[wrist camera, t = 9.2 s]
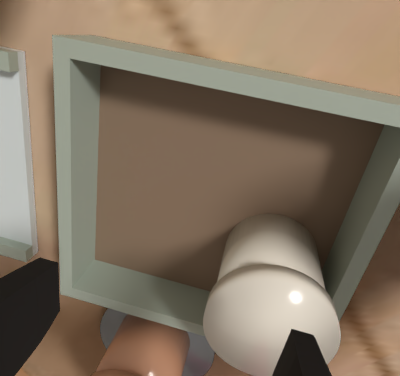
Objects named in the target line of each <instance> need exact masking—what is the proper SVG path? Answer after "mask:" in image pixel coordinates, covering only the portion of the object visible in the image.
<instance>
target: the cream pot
mask: <svg viewBox="0 0 400 376" xmlns="http://www.w3.org/2000/svg"><path fill="white" fill-rule="evenodd" d="M203 329H204V334H205V337H206V339H207V341H208V343H209V345H210V346H211V348H212V349H213V350H214V352H215V353H216V354H217V355H218V356H219V357H220V358H221V359H223V360H224V361H225V362H226V363H228V364H229V365H231V366H233V367H234V368H236V369H238V370H240V371H242V372H245V373H247V374H250V375H253V376H272V374H273V372H274V369H275V367H276V365H277V362H278V360H279V358H280V355H281V353H282V350H283V348H284V346H285V343H286V341H287V339H288V336H289V334H290V331H291V329H295V330H298V331H302V332H305V333H309V334H312V335H314V337H315V338H316V341H317V343H318V345H319V348H320V350H321V352H322V355H323V357H324V359H325V362H326V364H328V363H329V362H330V361H331V360H332V359H333V358H334V356H335V355H336V353H337V351H338V348H339V346H340V341H341V332H340V326H339V322H338V317H337V313H336V309H335V306H334V303H333V301H332V299H331V297H330V295H329V294H328V293H327V291H326V290H325V285H324V280H323V275H322V271H321V266H320V261H319V256H318V251H317V247H316V243H315V240H314V238H313V236H312V235H311V233H310V232H309V231H308V230H307V229H306V228H305V227H304V226H303V225H302V224H301V223H299V222H297V221H296V220H294V219H292V218H289V217H287V216H283V215H279V214H259V215H255V216H251V217H249V218H246V219H245V220H243V221H241V222H240V223H238V224H237V225H236V226H235V227H234V228H233V229H232V231H231V232H230V234H229V236H228V238H227V241H226V245H225V249H224V253H223V258H222V262H221V267H220V271H219V275H218V280H217V283H216V284H215V285H214V286H213V288H212V290H211V292H210V294H209V297H208V300H207V304H206V308H205V312H204V317H203Z"/></svg>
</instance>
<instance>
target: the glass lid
mask: <svg viewBox="0 0 400 376" xmlns="http://www.w3.org/2000/svg"><path fill="white" fill-rule="evenodd" d="M37 252H38V240H37V226H36V211H35V196H34V181H33V166H32V151H31V136H30V121H29V107H28V92H27V77H26V62H25V51H21V50H17V49H12V48H7V47H2V46H0V255H3V256H6V257H10V258H13V259H17V260H20V261H24V262H28V261H29V260H30V259H31V258H32V257H33V256H34V255H35V254H36V253H37Z"/></svg>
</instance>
